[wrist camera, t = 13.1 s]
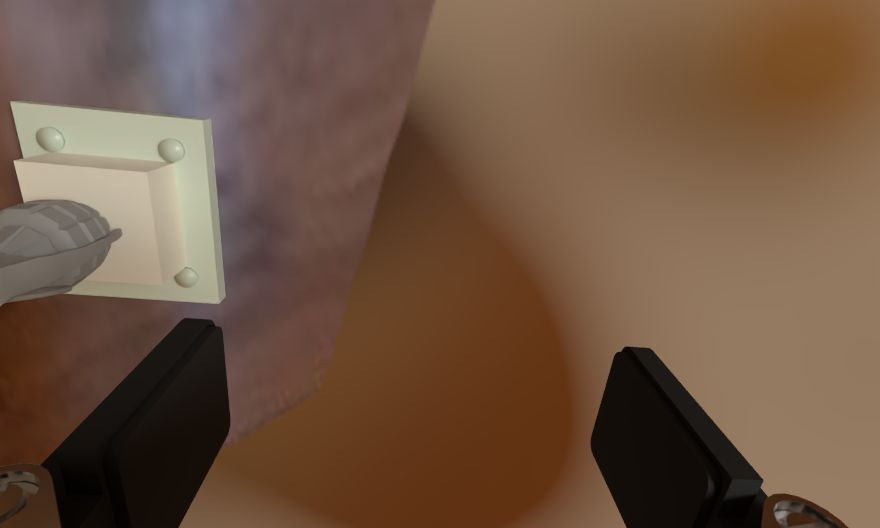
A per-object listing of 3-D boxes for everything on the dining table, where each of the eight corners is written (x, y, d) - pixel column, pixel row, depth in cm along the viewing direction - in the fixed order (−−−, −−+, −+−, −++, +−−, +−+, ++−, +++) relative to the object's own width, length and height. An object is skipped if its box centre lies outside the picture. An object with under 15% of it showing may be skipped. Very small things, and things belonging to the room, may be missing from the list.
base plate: (25, 100, 36) (5, 101, 34) (210, 118, 37) (200, 120, 35) (67, 285, 42) (52, 294, 40) (225, 296, 43) (217, 305, 41)
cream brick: (55, 151, 36) (13, 160, 32) (174, 162, 37) (146, 172, 33) (77, 258, 39) (42, 277, 36) (186, 266, 40) (162, 285, 36)
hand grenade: (62, 261, 35) (-83, 337, 25) (38, 186, 33) (-132, 235, 23) (149, 261, 35) (40, 336, 25) (131, 187, 33) (4, 236, 23)
